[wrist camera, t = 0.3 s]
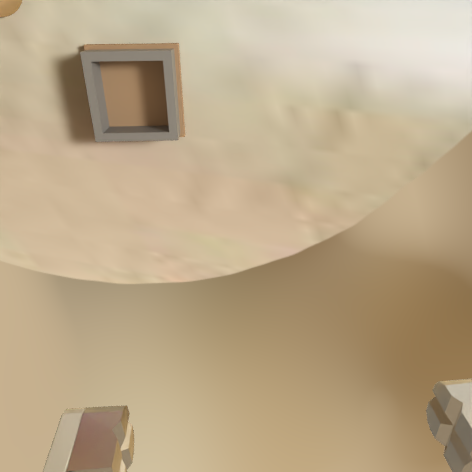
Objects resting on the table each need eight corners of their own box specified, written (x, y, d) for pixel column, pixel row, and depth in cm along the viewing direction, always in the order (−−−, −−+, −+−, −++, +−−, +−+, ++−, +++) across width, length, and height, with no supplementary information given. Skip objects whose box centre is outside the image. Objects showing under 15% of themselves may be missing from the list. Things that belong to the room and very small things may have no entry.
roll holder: (86, 44, 48) (74, 46, 44) (178, 43, 49) (175, 45, 45) (101, 136, 54) (92, 145, 50) (185, 134, 54) (182, 144, 50)
